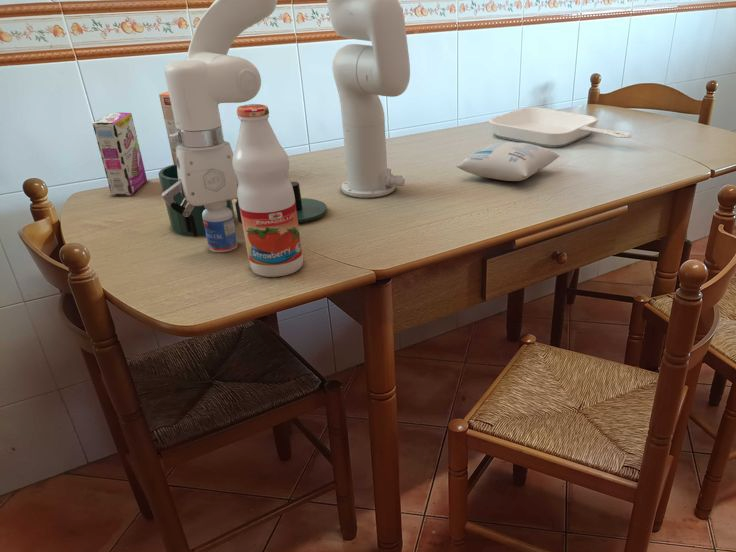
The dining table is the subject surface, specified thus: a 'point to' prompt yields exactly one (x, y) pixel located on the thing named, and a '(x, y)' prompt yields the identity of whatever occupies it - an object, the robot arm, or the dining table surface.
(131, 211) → the dining table surface
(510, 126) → the pan
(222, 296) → the dining table surface
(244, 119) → the fruit juice
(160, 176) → the pot
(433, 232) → the dining table surface
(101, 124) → the candy bar box
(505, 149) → the pouch
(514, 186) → the dining table surface
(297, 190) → the lid
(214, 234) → the pill bottle
